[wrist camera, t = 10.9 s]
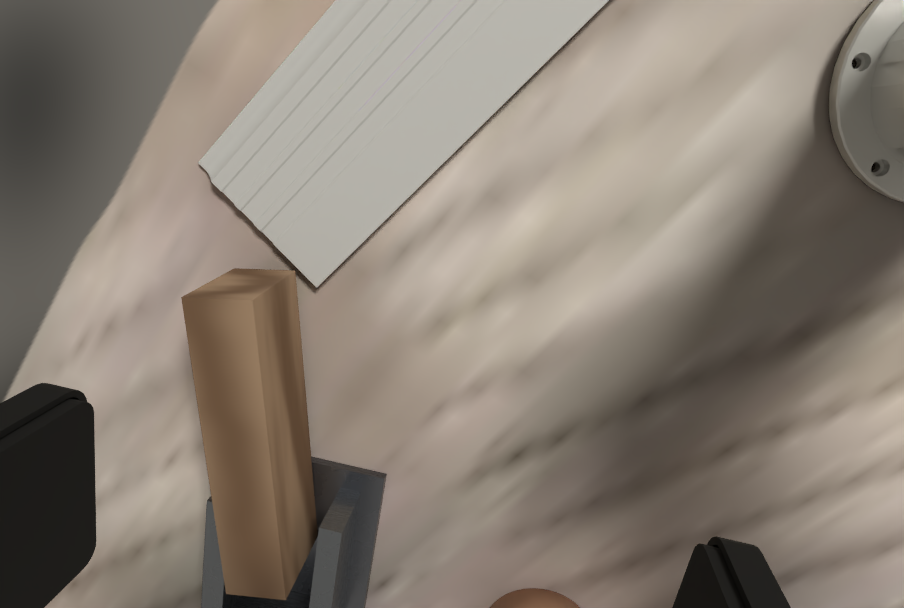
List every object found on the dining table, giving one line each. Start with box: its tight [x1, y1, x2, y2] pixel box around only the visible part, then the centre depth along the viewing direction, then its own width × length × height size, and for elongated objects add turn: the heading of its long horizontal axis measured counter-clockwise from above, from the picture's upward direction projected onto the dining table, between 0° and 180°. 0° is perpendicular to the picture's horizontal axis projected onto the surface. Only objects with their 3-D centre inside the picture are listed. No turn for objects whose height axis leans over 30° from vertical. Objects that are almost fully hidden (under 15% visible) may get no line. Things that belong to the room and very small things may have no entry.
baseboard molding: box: [198, 0, 609, 288], centre depth 32 cm, size 31×3×12 cm
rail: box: [181, 269, 318, 600], centre depth 38 cm, size 4×20×6 cm, turn 0°
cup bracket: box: [201, 457, 386, 608], centre depth 42 cm, size 12×14×5 cm
